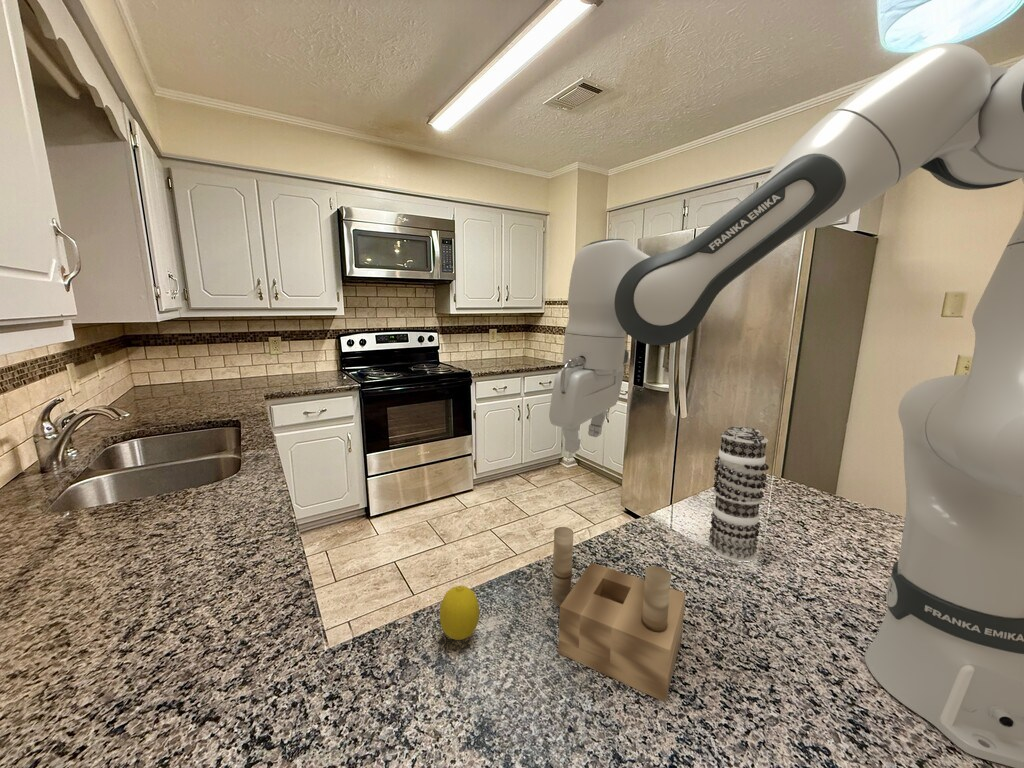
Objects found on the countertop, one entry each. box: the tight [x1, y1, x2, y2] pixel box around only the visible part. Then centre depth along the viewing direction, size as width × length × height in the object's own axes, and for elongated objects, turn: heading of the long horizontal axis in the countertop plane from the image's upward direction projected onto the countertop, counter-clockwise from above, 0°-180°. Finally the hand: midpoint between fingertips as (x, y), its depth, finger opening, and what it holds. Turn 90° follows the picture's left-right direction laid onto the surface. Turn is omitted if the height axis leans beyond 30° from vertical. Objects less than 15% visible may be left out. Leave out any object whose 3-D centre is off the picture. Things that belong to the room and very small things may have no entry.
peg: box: [551, 526, 574, 608], centre depth 65 cm, size 3×3×12 cm
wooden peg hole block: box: [557, 562, 686, 703], centre depth 56 cm, size 14×12×14 cm
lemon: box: [439, 585, 480, 641], centre depth 57 cm, size 6×6×8 cm
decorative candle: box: [708, 425, 770, 562], centre depth 80 cm, size 9×9×25 cm
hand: (583, 442), depth 63 cm, fingers open, 8 cm apart
